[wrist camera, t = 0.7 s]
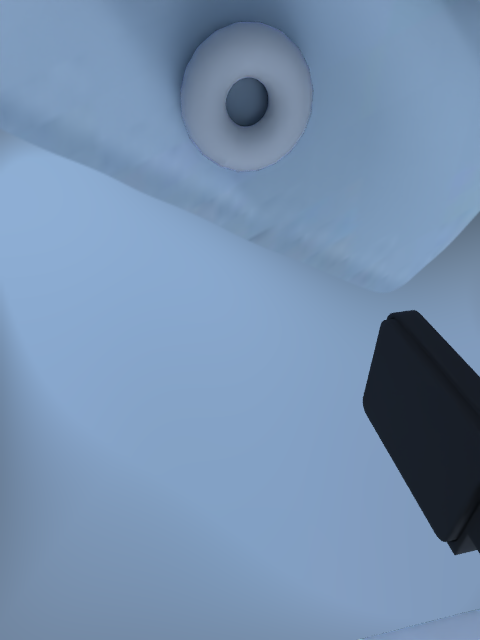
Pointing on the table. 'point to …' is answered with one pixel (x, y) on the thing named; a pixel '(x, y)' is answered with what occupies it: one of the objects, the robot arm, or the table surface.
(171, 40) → the table surface
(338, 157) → the table surface
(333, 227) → the table surface
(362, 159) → the table surface
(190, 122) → the donut
